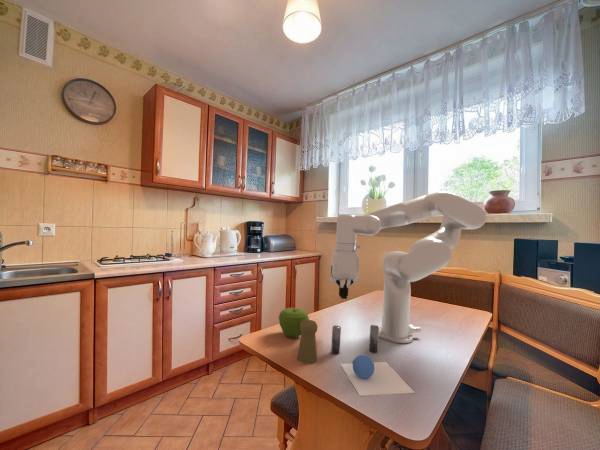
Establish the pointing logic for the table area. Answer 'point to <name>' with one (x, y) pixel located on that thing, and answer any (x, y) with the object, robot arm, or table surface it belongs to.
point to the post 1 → (336, 339)
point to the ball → (363, 366)
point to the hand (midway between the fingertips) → (343, 297)
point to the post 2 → (373, 339)
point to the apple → (292, 321)
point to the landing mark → (377, 381)
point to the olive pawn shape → (307, 342)
